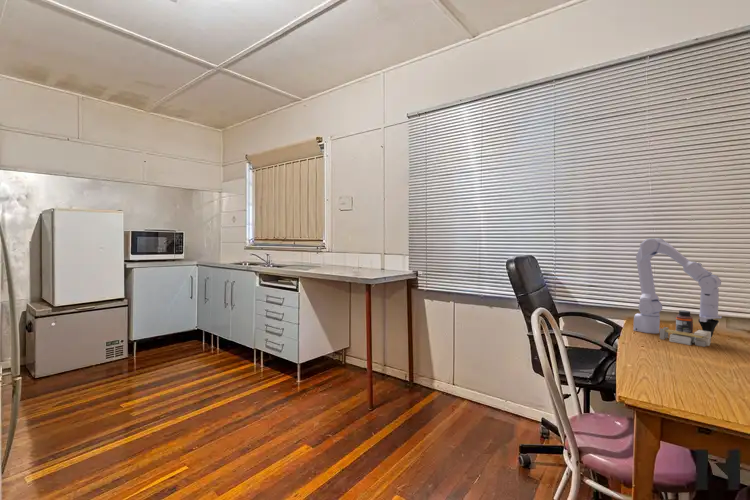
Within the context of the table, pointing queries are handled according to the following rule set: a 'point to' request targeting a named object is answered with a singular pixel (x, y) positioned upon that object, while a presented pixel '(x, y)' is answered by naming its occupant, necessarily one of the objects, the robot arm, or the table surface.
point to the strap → (683, 333)
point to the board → (665, 335)
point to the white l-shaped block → (706, 336)
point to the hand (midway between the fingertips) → (707, 337)
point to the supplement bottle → (684, 322)
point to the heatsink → (682, 339)
